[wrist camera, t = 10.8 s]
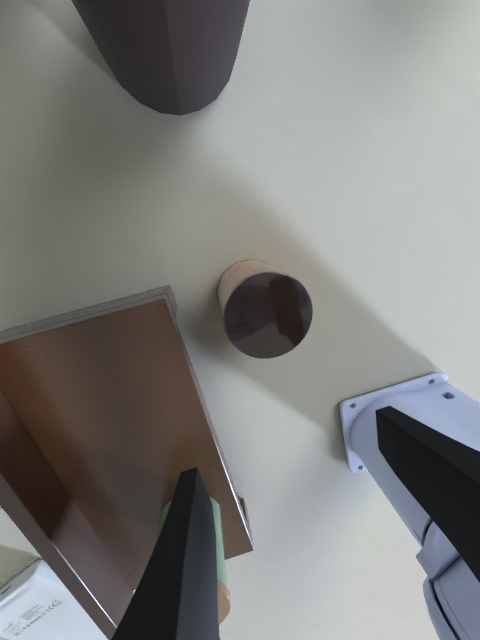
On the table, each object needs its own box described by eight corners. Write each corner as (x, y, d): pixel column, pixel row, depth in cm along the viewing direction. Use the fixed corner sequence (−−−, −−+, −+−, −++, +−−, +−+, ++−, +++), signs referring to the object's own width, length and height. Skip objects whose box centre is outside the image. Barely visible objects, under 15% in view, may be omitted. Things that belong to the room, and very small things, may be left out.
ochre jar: (275, 250, 19) (305, 261, 13) (287, 313, 20) (318, 344, 15) (207, 268, 18) (212, 286, 13) (225, 331, 20) (236, 369, 15)
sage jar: (212, 483, 20) (218, 575, 15) (228, 525, 21) (239, 621, 16) (148, 504, 20) (131, 604, 14) (170, 545, 21) (161, 648, 16)
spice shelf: (170, 284, 18) (157, 314, 12) (247, 509, 26) (262, 593, 20) (-1, 331, 18) (-98, 385, 12) (130, 547, 25) (111, 644, 20)
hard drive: (89, 647, 29) (-23, 605, 25) (147, 606, 29) (42, 555, 24) (83, 670, 28) (-37, 630, 24) (144, 627, 27) (31, 578, 23)
